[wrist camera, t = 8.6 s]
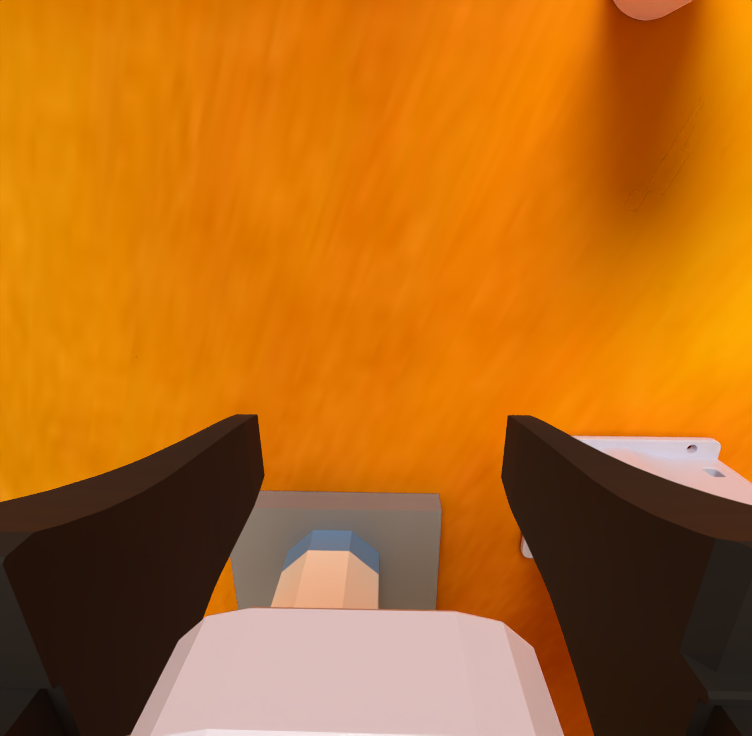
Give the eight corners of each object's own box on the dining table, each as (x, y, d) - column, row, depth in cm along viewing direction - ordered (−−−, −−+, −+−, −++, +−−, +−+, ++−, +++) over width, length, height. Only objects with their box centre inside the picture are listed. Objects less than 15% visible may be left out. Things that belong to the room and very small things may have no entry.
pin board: (438, 493, 23) (453, 570, 18) (425, 722, 30) (433, 826, 24) (232, 490, 24) (188, 564, 18) (264, 716, 30) (238, 818, 25)
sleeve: (379, 531, 22) (376, 634, 17) (379, 601, 24) (376, 717, 18) (286, 529, 22) (251, 630, 17) (292, 599, 24) (263, 713, 18)
